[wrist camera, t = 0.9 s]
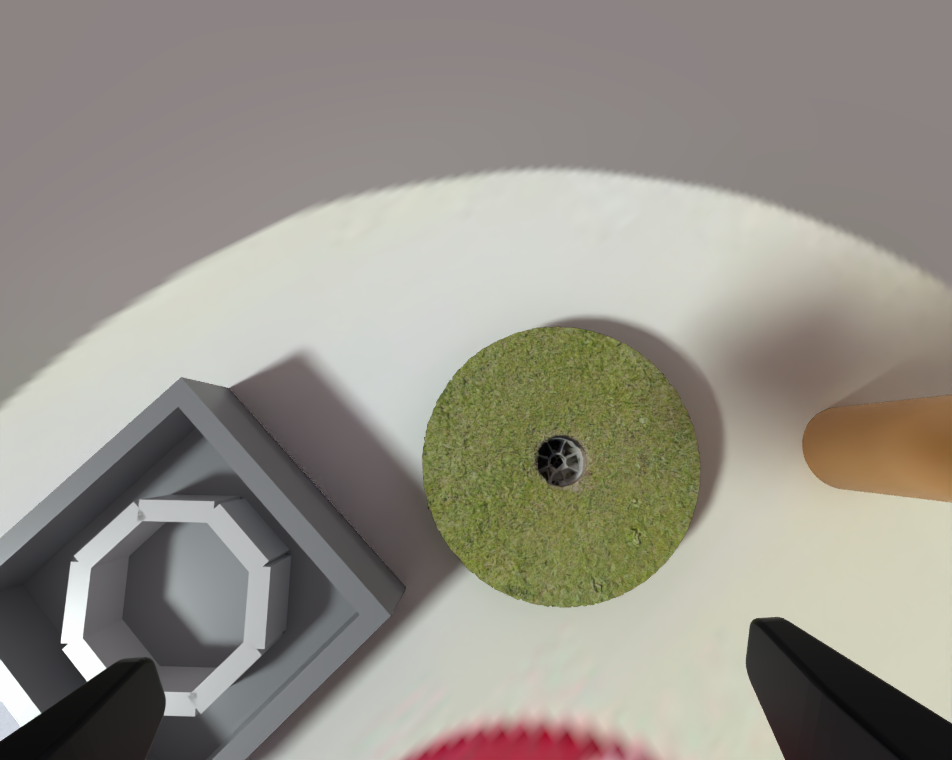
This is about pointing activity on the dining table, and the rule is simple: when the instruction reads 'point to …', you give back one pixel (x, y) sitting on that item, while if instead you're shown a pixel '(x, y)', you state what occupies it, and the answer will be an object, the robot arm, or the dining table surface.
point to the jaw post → (885, 447)
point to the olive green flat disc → (561, 467)
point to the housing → (188, 578)
